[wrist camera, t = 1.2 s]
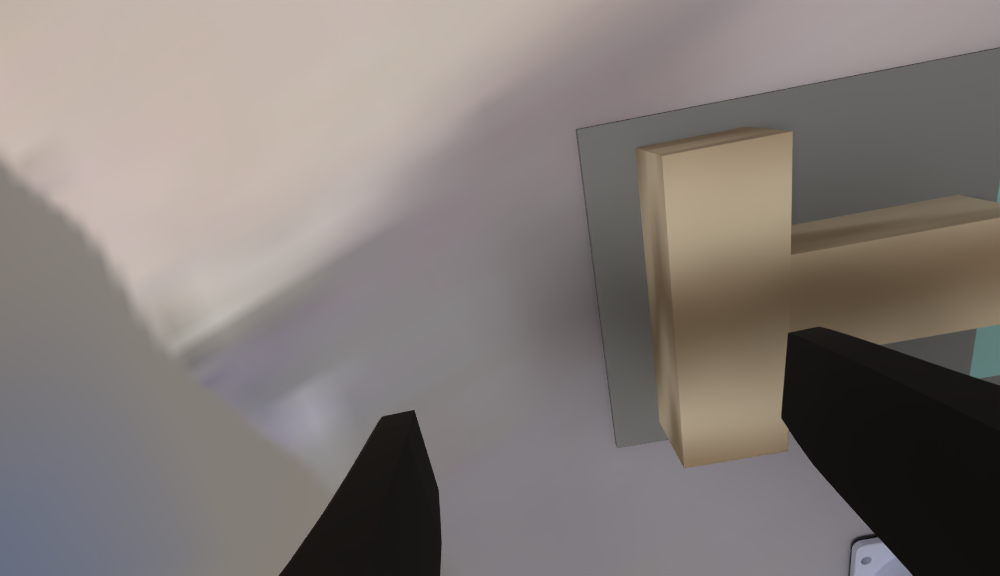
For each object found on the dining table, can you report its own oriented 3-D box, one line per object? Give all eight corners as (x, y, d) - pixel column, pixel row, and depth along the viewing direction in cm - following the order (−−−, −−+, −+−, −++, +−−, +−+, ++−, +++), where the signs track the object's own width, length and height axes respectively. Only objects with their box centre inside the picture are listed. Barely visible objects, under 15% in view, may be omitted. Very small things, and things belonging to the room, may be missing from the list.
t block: (934, 375, 22) (1000, 415, 19) (659, 422, 23) (683, 468, 20) (972, 83, 18) (1063, 79, 15) (635, 147, 18) (661, 156, 16)
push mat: (1302, 329, 22) (1313, 332, 22) (615, 444, 23) (617, 448, 23) (1450, -40, 17) (1467, -43, 17) (575, 129, 18) (577, 129, 18)
